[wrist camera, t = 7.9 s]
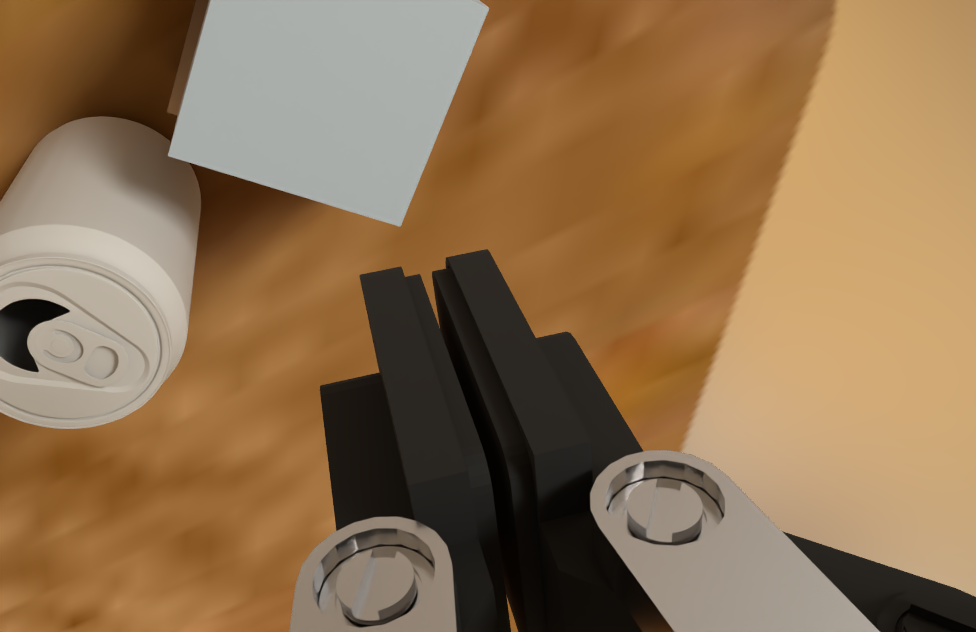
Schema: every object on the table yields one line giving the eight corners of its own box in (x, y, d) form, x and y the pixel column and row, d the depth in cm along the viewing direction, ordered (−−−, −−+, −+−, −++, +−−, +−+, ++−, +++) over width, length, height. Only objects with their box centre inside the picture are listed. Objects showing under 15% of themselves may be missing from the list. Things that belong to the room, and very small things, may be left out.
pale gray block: (379, 170, 30) (400, 226, 26) (180, 104, 28) (167, 156, 23) (453, -21, 28) (489, 8, 24) (240, -115, 25) (238, -101, 21)
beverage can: (66, 78, 31) (-22, 203, 21) (230, 160, 34) (223, 305, 24) (1, 219, 33) (-107, 396, 23) (162, 285, 36) (128, 468, 26)
